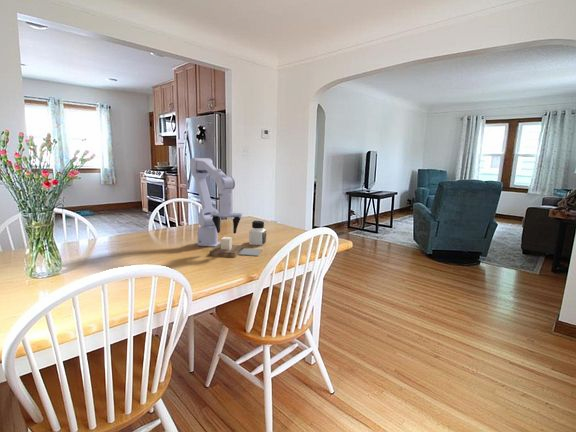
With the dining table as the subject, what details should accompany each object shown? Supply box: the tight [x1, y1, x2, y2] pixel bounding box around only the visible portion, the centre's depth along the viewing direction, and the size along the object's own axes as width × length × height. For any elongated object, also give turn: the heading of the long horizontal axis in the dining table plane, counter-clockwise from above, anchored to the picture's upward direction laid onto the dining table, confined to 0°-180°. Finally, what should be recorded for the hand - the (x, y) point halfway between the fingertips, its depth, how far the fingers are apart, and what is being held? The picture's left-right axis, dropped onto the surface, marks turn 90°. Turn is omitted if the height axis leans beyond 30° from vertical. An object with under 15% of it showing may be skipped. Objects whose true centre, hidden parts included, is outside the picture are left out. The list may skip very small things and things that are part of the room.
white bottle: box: [248, 219, 267, 246], centre depth 163 cm, size 7×7×12 cm
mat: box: [238, 247, 263, 257], centre depth 149 cm, size 9×9×1 cm
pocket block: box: [209, 243, 243, 258], centre depth 148 cm, size 12×12×2 cm
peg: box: [220, 236, 233, 250], centre depth 147 cm, size 4×4×7 cm
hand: (226, 232), depth 146 cm, fingers open, 7 cm apart
